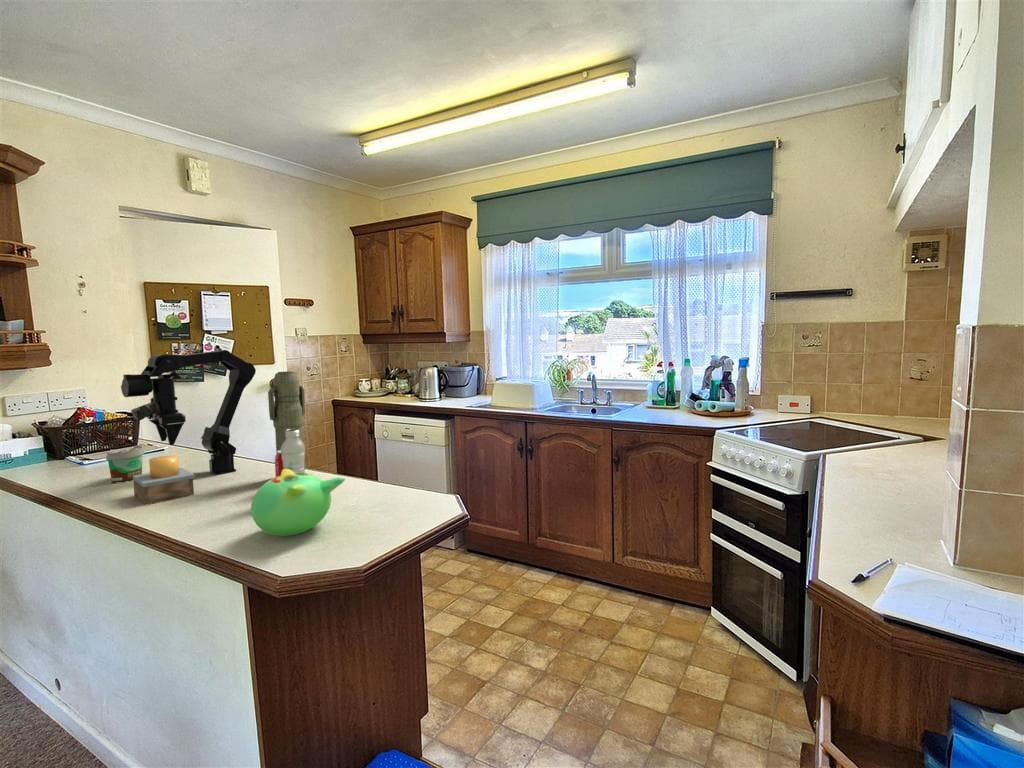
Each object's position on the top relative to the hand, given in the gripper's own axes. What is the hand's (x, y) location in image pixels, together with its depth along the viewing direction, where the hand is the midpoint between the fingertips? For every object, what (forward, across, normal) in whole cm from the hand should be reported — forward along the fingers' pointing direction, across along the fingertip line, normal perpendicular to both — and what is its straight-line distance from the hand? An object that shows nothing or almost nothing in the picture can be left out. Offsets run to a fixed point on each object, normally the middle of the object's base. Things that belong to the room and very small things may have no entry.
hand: (167, 442), depth 160 cm
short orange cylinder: (+7, +14, -4) cm, 16 cm away
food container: (+13, -15, -7) cm, 21 cm away
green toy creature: (+13, +71, +8) cm, 73 cm away
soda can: (+13, +36, +22) cm, 44 cm away
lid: (+8, +14, -5) cm, 17 cm away
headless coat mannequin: (+13, +24, +28) cm, 39 cm away
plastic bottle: (+13, +47, +19) cm, 52 cm away
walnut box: (+13, +14, -5) cm, 20 cm away
